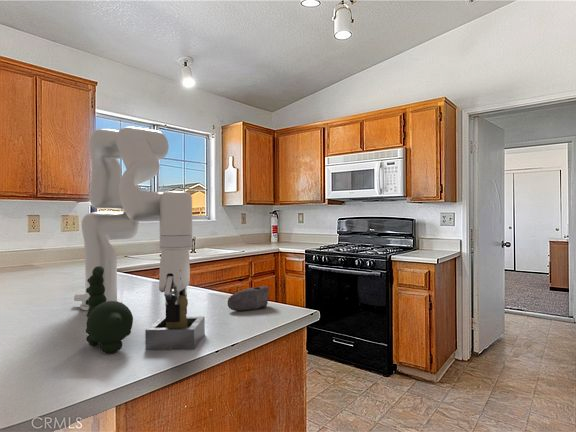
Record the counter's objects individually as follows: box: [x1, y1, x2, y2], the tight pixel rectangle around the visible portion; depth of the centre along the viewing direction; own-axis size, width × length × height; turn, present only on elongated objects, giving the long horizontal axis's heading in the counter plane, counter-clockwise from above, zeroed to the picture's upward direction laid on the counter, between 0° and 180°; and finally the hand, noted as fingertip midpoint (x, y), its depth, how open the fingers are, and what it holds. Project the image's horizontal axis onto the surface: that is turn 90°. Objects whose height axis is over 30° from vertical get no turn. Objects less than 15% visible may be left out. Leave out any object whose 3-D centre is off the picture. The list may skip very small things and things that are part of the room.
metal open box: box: [144, 316, 206, 351], centre depth 92 cm, size 11×11×4 cm
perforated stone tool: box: [227, 285, 270, 312], centre depth 123 cm, size 15×5×7 cm, turn 118°
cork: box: [166, 294, 189, 328], centre depth 92 cm, size 6×6×11 cm
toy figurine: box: [85, 266, 134, 355], centre depth 90 cm, size 9×19×25 cm
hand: (176, 317), depth 92 cm, fingers closed on cork, 5 cm apart
